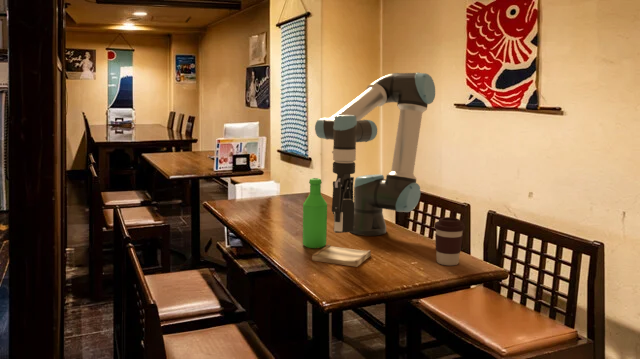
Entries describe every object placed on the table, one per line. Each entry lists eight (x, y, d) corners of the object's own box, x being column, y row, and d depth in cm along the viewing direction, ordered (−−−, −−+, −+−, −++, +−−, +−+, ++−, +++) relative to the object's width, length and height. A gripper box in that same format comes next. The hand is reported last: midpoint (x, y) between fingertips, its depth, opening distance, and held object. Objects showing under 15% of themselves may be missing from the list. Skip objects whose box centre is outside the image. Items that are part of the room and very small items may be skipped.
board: (328, 249, 207) (328, 244, 207) (370, 255, 201) (370, 250, 200) (312, 260, 194) (312, 254, 194) (356, 266, 188) (357, 261, 188)
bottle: (299, 247, 209) (300, 179, 205) (306, 241, 217) (306, 176, 213) (323, 249, 207) (324, 181, 203) (328, 243, 215) (330, 177, 211)
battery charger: (349, 229, 199) (350, 197, 197) (354, 232, 195) (355, 199, 194) (330, 231, 197) (331, 198, 195) (335, 233, 193) (335, 200, 191)
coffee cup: (426, 259, 197) (429, 217, 194) (451, 257, 200) (454, 215, 198) (442, 268, 188) (445, 223, 185) (468, 265, 191) (471, 221, 189)
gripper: (344, 157, 203) (342, 221, 206) (322, 163, 185) (320, 233, 188) (364, 159, 200) (362, 223, 203) (343, 165, 182) (342, 236, 185)
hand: (342, 228), depth 196 cm, fingers closed on battery charger, 7 cm apart
